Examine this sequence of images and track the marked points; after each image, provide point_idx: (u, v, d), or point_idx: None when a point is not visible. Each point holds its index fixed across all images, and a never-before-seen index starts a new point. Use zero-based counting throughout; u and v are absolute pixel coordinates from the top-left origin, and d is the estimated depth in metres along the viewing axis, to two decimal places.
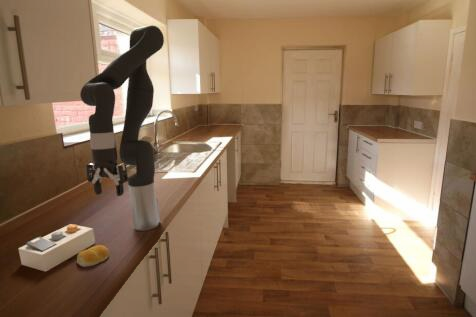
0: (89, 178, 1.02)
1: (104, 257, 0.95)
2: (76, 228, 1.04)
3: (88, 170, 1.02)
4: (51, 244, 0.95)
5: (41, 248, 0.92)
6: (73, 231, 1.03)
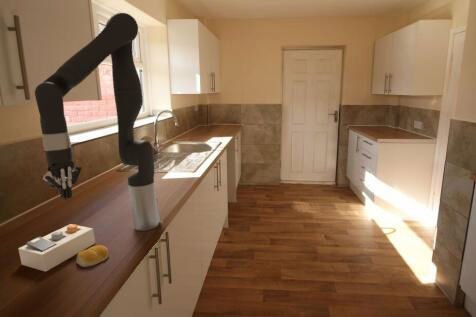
0: (59, 184, 0.98)
1: (104, 257, 0.95)
2: (76, 228, 1.04)
3: (52, 180, 0.96)
4: (51, 244, 0.95)
5: (41, 248, 0.92)
6: (73, 231, 1.03)
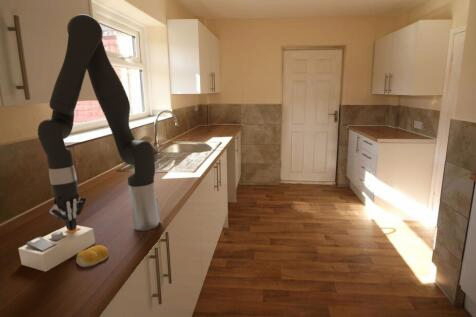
0: (65, 217, 1.00)
1: (103, 257, 0.95)
2: (76, 231, 1.04)
3: (58, 213, 0.98)
4: (51, 244, 0.95)
5: (41, 248, 0.92)
6: None
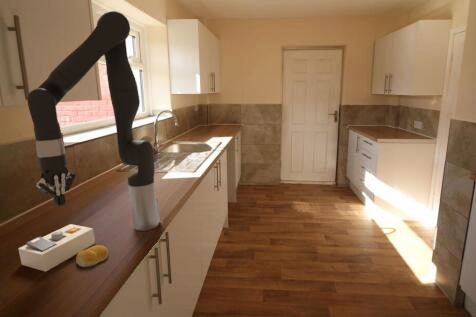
0: (53, 191, 0.97)
1: (103, 257, 0.95)
2: None
3: (45, 187, 0.94)
4: (51, 244, 0.95)
5: (41, 248, 0.92)
6: None
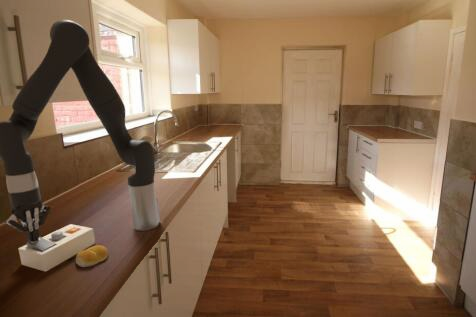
0: (25, 227, 0.92)
1: (103, 257, 0.95)
2: None
3: (16, 224, 0.89)
4: (51, 244, 0.95)
5: (41, 248, 0.92)
6: None
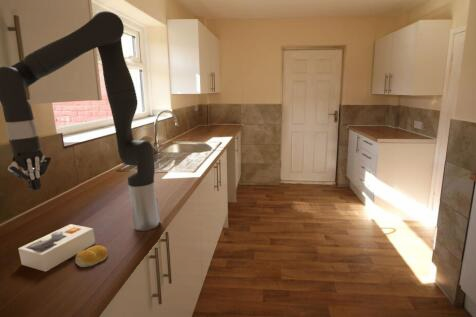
0: (27, 175, 0.93)
1: (103, 257, 0.95)
2: None
3: (17, 171, 0.91)
4: None
5: (39, 244, 0.92)
6: None
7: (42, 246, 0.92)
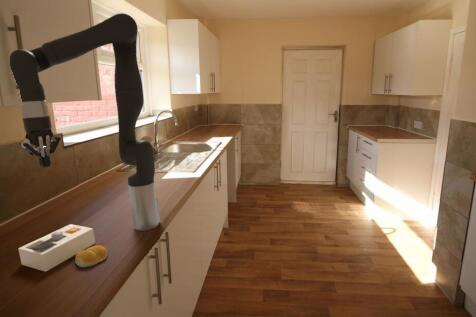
0: (38, 152, 1.00)
1: (102, 257, 0.95)
2: None
3: (30, 147, 0.97)
4: (49, 239, 0.95)
5: (39, 243, 0.92)
6: None
7: (42, 245, 0.92)
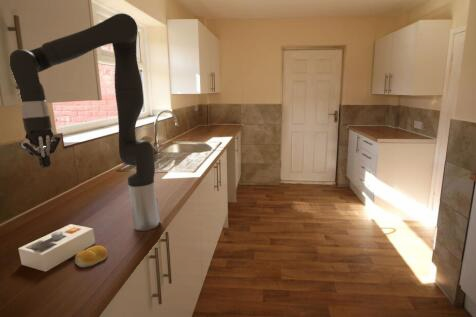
0: (38, 152, 1.00)
1: (102, 257, 0.95)
2: None
3: (30, 147, 0.97)
4: None
5: (39, 243, 0.92)
6: None
7: (41, 245, 0.92)
